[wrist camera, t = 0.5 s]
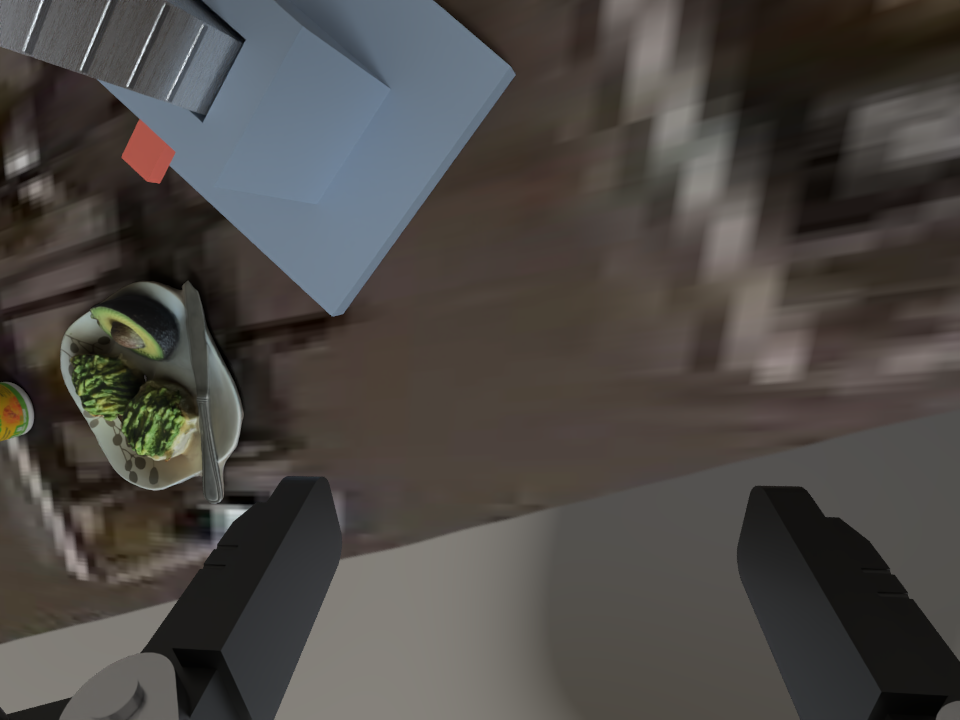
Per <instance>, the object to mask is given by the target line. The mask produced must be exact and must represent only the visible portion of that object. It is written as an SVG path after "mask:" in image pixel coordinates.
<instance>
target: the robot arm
mask: <svg viewBox="0 0 960 720" xmlns="http://www.w3.org/2000/svg"><path fill="white" fill-rule="evenodd" d="M341 549H342V535H341V530H340V526H339V522H338V518H337V514H336V510H335V505H334V501H333V497H332V493H331V489H330V485H329V482H328V480H327V479H326V478H325V477H303V476H287V477H285V478H283V479H282V480H281V482H280V483H279V485H278V486H277V488H276V489H275V491H274V492H273V494H272V495H271V497H270V498H269V500H268V501H267V503H262V502H257V503H256V504H255V505H253V506H252V507H251V508H250V509H248V510H247V511H246V512H245V513H243V514H242V515H241V516H240V517H239V518H237V519H236V520H235V521H234V522H233V523H232V524H231V526H230V527H229V529H228V530H227V531H226V533H225V534H224V536H223V537H222V539H221V540H220V541H219V543H218V544H217V549H214V550H213V551H212V553H211V554H210V556H209V557H208V559H207V560H206V561H205V563H204V567H203V569H200V570H199V571H198V573H197V574H196V576H195V577H194V578H193V580H192V581H191V583H190V584H189V586H188V587H187V588H186V590H185V591H184V593H183V594H182V596H181V597H180V598H179V600H178V601H177V603H176V604H175V606H174V607H173V608H172V610H171V611H170V613H169V614H168V616H167V617H166V618H165V620H164V621H163V623H162V624H161V625H160V627H159V628H158V630H157V631H156V633H155V634H154V635H153V637H152V638H151V640H150V641H149V642H148V644H147V645H146V647H145V648H144V649H143V651H142V652H141V653H140V654H135V655H132V656H128V657H126V658H123V659H121V660H119V661H116V662H115V663H113V664H111V665H109V666H107V667H106V668H104V669H103V670H101V671H100V672H99V673H97V674H96V675H95V676H93V677H92V678H91V679H89V680H88V681H87V682H86V683H85V684H84V685H83V686H82V687H81V688H80V689H79V690H78V692H77V693H76V694H75V695H74V696H73V697H71V698H67V699H64V700H60V701H56V702H52V703H48V704H45V705H41V706H37V707H34V708H29V709H26V710H22V711H18V712H14V713H11V714H7V715H6V713H5V712H4V711H3V710H2V709H1V707H0V720H274V718H275V715H276V713H277V711H278V708H279V706H280V704H281V701H282V698H283V696H284V694H285V691H286V689H287V687H288V684H289V682H290V679H291V677H292V674H293V672H294V670H295V667H296V665H297V663H298V660H299V658H300V655H301V653H302V651H303V648H304V646H305V643H306V641H307V638H308V636H309V634H310V631H311V629H312V626H313V624H314V622H315V619H316V617H317V615H318V612H319V610H320V607H321V605H322V602H323V600H324V598H325V595H326V593H327V591H328V588H329V586H330V583H331V581H332V579H333V576H334V574H335V571H336V569H337V566H338V564H339V560H340V556H341ZM737 563H738V569H739V574H740V578H741V581H742V583H743V586H744V588H745V591H746V593H747V595H748V598H749V600H750V602H751V605H752V607H753V609H754V612H755V614H756V616H757V619H758V621H759V624H760V626H761V628H762V631H763V633H764V635H765V637H766V640H767V642H768V645H769V647H770V649H771V652H772V654H773V656H774V659H775V661H776V663H777V666H778V668H779V670H780V673H781V675H782V678H783V680H784V682H785V684H786V687H787V689H788V692H789V694H790V696H791V699H792V701H793V703H794V706H795V708H796V710H797V713H798V715H799V717H800V720H960V661H959V660H958V659H957V657H956V656H955V655H954V653H953V652H952V651H951V650H950V648H949V647H948V646H947V644H946V643H945V641H944V640H943V639H942V637H941V636H940V635H939V633H938V632H937V631H936V629H935V628H934V627H933V625H932V624H931V623H930V621H929V620H928V619H927V617H926V616H925V615H924V613H923V612H922V611H921V609H920V608H919V607H918V606H917V604H916V603H915V602H914V600H913V599H909V597H908V592H907V591H906V589H905V588H904V587H903V585H902V584H901V583H900V582H899V580H898V579H897V577H896V576H895V575H891V573H890V568H889V567H888V565H887V564H886V563H885V561H884V560H883V559H882V558H881V556H880V555H879V553H878V552H877V551H876V550H875V548H874V547H873V546H872V544H871V543H870V541H868V540H867V539H866V538H865V537H863V536H862V535H861V534H859V533H858V532H857V531H856V530H854V529H853V528H852V527H850V526H849V525H848V524H847V523H845V522H844V521H842V520H841V519H840V518H835V517H833V518H832V517H825V516H824V514H823V513H822V512H821V510H820V509H819V507H818V506H817V504H816V503H815V501H814V500H813V498H812V497H811V495H810V494H809V493H808V492H807V490H805V489H804V488H802V487H796V486H795V487H793V486H755V487H754V488H753V489H752V490H751V493H750V496H749V500H748V504H747V508H746V513H745V517H744V521H743V526H742V530H741V534H740V538H739V542H738V547H737Z"/></svg>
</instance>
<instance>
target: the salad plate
mask: <svg viewBox="0 0 960 720" xmlns="http://www.w3.org/2000/svg"><path fill="white" fill-rule="evenodd" d="M109 341H110V343H109ZM60 351H61V353H60V359H61V366H60V367H61V371H62V375H63V379H64V381H65V384H66V386H67V388H68V390H69V392H70V394H71V396H72V397H73V399H74V400H75V402H76V404H77V406H78V407H79V409H80V410H81V412H82V414H83V415H84V417H85V419H86V420H87V422H88V424H89V426H90V428H91V429H92V431H93V432H94V434H95V436H96V438H97V440H98V444H99V445H100V446H101V448H102V450H103V452H104V453H105V455H106V457H107V458H108V460H109V462H110V464H111V465H112V466H113V468H114V469H115V471H116V472H117V473H118V474H119V475H120V476H122V477H123V478H124V479H126V480H127V481H129V482H131V483H133V484H135V485H137V486H140V487H142V488H145V489H150V490H154V491H157V490H163V489H166V488H168V487H170V486H172V485H176V484H179V483H182V482H184V481H186V480H188V479H190V478H192V477H194V476H202V478H203V480H202V481H203V494H204V497H205V499H206V500H207V501H209V502H210V503H218V502H220V501H221V500H222V499H223V496H224V483H223V469H224V465H225V462H226V460H227V459H228V458H229V456H230V455H231V454H232V452H233V451H234V449H235V448H236V447H237V444H238V439H239V436H240V431H241V424H242V420H243V417H244V411H243V407H242V403H241V399H240V396H239V393H238V390H237V387H236V385H235V382H234V380H233V378H232V376H231V374H230V372H229V370H228V368H227V366H226V364H225V363H224V361H223V359H222V356H221V354H220V352H219V350H218V348H217V346H216V344H215V342H214V340H213V338H212V335H211V333H210V331H209V329H208V326H207V323H206V319H205V314H204V310H203V306H202V302H201V299H200V295H199V293H198V291H197V290H196V289H195V288H194V287H193V286H192V284H191V283H190V282H189V281H187V282H186V283H185V284H183V286H182V290H178V289H175V288H173V287H171V286H169V285H165V284H163V283H159V282H156V281H139V282H135V283H132V284H129V285H127V286H125V287H123V288H122V289H120V290H118V291H117V292H115V293H114V294H112V295H111V296H110V297H108V298H107V299H106V300H104V301H102V302H101V303H99V304H97V305H95V306H93V307H92V308H91V309H90V311H89V312H87V313H86V314H84V315H82V316H81V317H80V318H78V319H77V320H76V321H75V322H74V323H73V324H71V325H70V327H69V328H68V329H67V331H66V332H65V334H64V337H63V339H62V343H61V349H60ZM144 375H146V377H147V380H146V381H145V379H144ZM118 415H123V418H122V423H121V422H120V420H119V419H118Z"/></svg>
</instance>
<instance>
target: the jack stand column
mask: <svg viewBox="0 0 960 720" xmlns="http://www.w3.org/2000/svg"><path fill="white" fill-rule="evenodd" d="M245 41H246V39H245V38H244V37H242V36H241V35H240V34H239V33H238V32H237V31H236V30H235V29H234V28H232V27H231V26H230V25H229V24H228V23H227V22H226V21H225V20H223V19H222V18H221V17H220V16H219V15H218V14H217V13H216V12H214V11H213V10H212V9H211V8H210V7H209V6H207V5H205V4H204V3H202V2H200V1H199V0H0V47H3V48H6V49H9V50H12V51H15V52H18V53H21V54H24V55H27V56H30V57H33V58H36V59H39V60H42V61H45V62H48V63H51V64H54V65H57V66H60V67H63V68H66V69H69V70H72V71H75V72H78V73H81V74H84V75H87V76H90V77H93V78H96V79H99V80H102V81H105V82H107V83H110V84H113V85H116V86H119V87H122V88H125V89H128V90H131V91H134V92H137V93H140V94H143V95H146V96H149V97H152V98H155V99H158V100H161V101H164V102H167V103H170V104H173V105H176V106H179V107H182V108H185V109H188V110H191V111H194V112H197V113H200V114H203V115H206V116H207V114H208V112H209V110H210V108H211V106H212V104H213V102H214V100H215V98H216V96H217V94H218V92H219V91H220V89H221V87H222V85H223V83H224V81H225V79H226V77H227V75H228V73H229V71H230V69H231V68H232V66H233V64H234V62H235V60H236V58H237V56H238V54H239V52H240V50H241V48H242V46H243V44H244V43H245Z"/></svg>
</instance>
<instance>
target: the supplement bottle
mask: <svg viewBox="0 0 960 720" xmlns="http://www.w3.org/2000/svg"><path fill="white" fill-rule="evenodd" d="M33 422H34V409H33V405H32V402H31V400H30V398H29V396H28V395H27V393H26V392H25V391H24V390H23V389H22V388H21V387H19V386H18V385H16V384H14V383H11V382H0V441H3V440H6V439H10V438H13V437H17V436H20V435H23V434H25V433H27V432H28V431H29V430H30V429H31V427H32V425H33Z"/></svg>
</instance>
